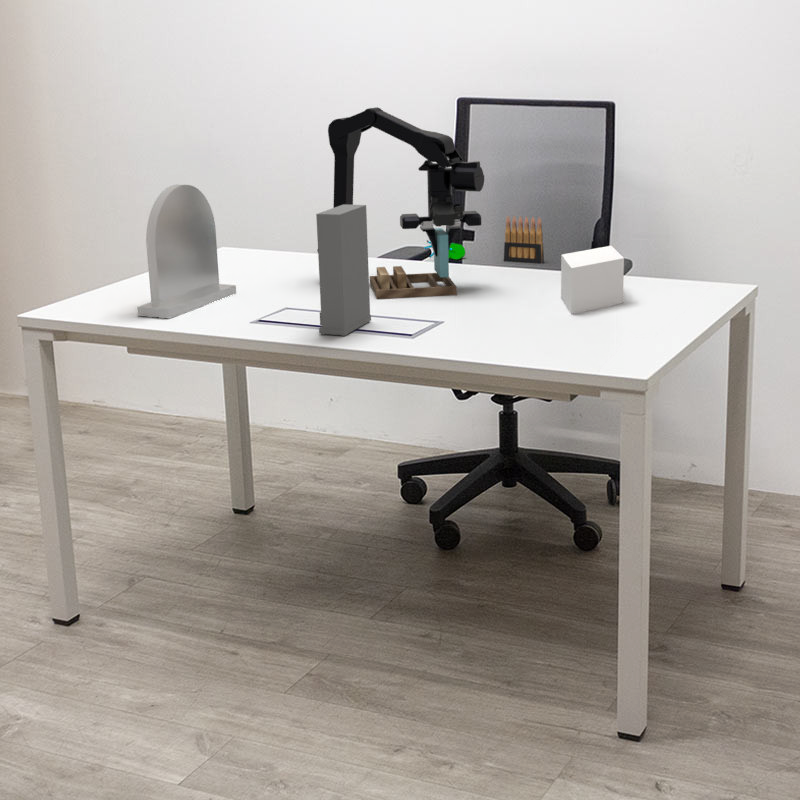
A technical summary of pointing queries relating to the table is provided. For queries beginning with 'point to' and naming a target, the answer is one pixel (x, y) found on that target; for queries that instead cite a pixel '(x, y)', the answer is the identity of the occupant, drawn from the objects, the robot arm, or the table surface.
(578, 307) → the white rectangular block
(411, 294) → the rack
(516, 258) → the ammunition clip
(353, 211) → the tall grey pillar
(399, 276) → the oak offcut
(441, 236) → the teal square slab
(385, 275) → the pine offcut
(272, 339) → the table surface
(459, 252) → the multicoloured piece
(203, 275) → the award
